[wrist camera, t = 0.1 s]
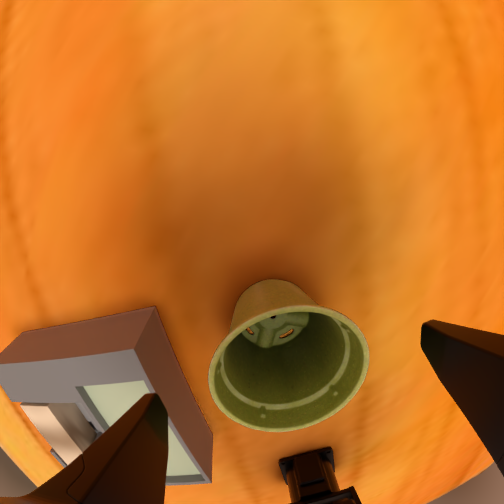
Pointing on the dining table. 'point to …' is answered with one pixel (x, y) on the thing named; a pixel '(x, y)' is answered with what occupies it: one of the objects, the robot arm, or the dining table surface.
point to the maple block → (61, 427)
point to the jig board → (112, 381)
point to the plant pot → (286, 360)
